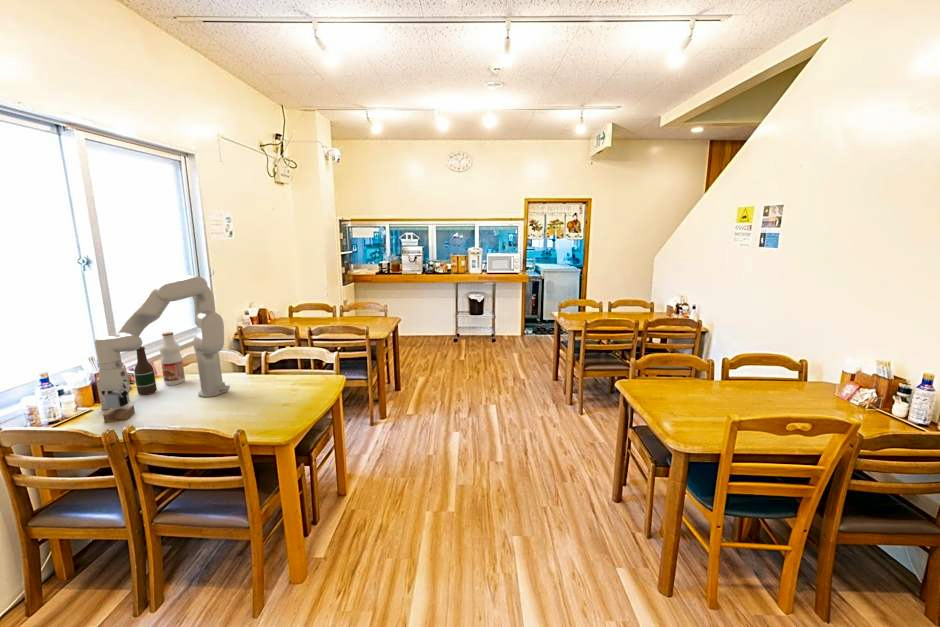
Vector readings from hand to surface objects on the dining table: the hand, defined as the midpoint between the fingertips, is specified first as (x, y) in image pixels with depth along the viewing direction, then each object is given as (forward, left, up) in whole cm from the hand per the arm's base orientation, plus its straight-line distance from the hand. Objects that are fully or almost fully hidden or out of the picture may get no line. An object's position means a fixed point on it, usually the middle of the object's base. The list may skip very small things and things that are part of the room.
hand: (117, 404), depth 183 cm
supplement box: (+15, -14, -6) cm, 21 cm away
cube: (0, 0, -1) cm, 1 cm away
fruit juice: (+10, -45, -6) cm, 47 cm away
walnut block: (0, 0, -7) cm, 7 cm away
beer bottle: (+13, -30, -6) cm, 33 cm away
